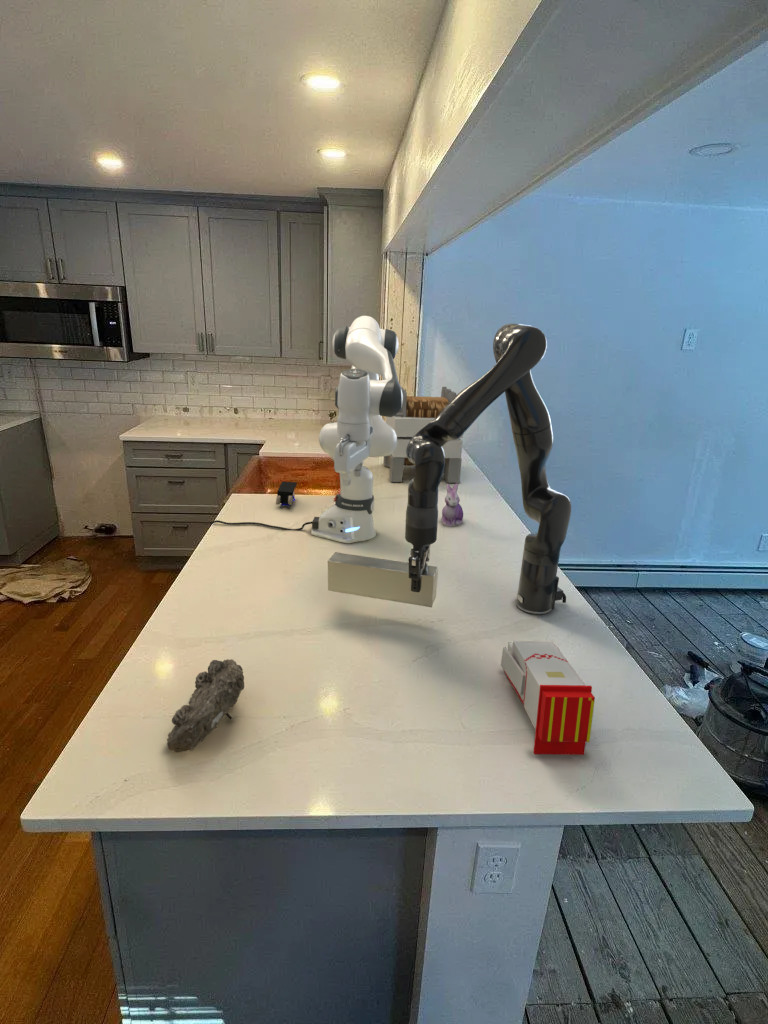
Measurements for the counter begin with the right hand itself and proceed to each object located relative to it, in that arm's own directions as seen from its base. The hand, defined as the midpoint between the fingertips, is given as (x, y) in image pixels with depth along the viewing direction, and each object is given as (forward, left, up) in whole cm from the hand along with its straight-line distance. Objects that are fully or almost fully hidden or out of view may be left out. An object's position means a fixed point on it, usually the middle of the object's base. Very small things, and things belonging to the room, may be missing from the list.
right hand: (418, 585), depth 139 cm
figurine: (-42, -63, -11) cm, 77 cm away
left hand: (+8, -32, +18) cm, 37 cm away
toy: (-12, +36, -11) cm, 39 cm away
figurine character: (+14, -98, -11) cm, 99 cm away
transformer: (-57, -129, -11) cm, 141 cm away
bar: (+7, -5, -4) cm, 10 cm away
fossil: (+51, +20, -11) cm, 56 cm away
